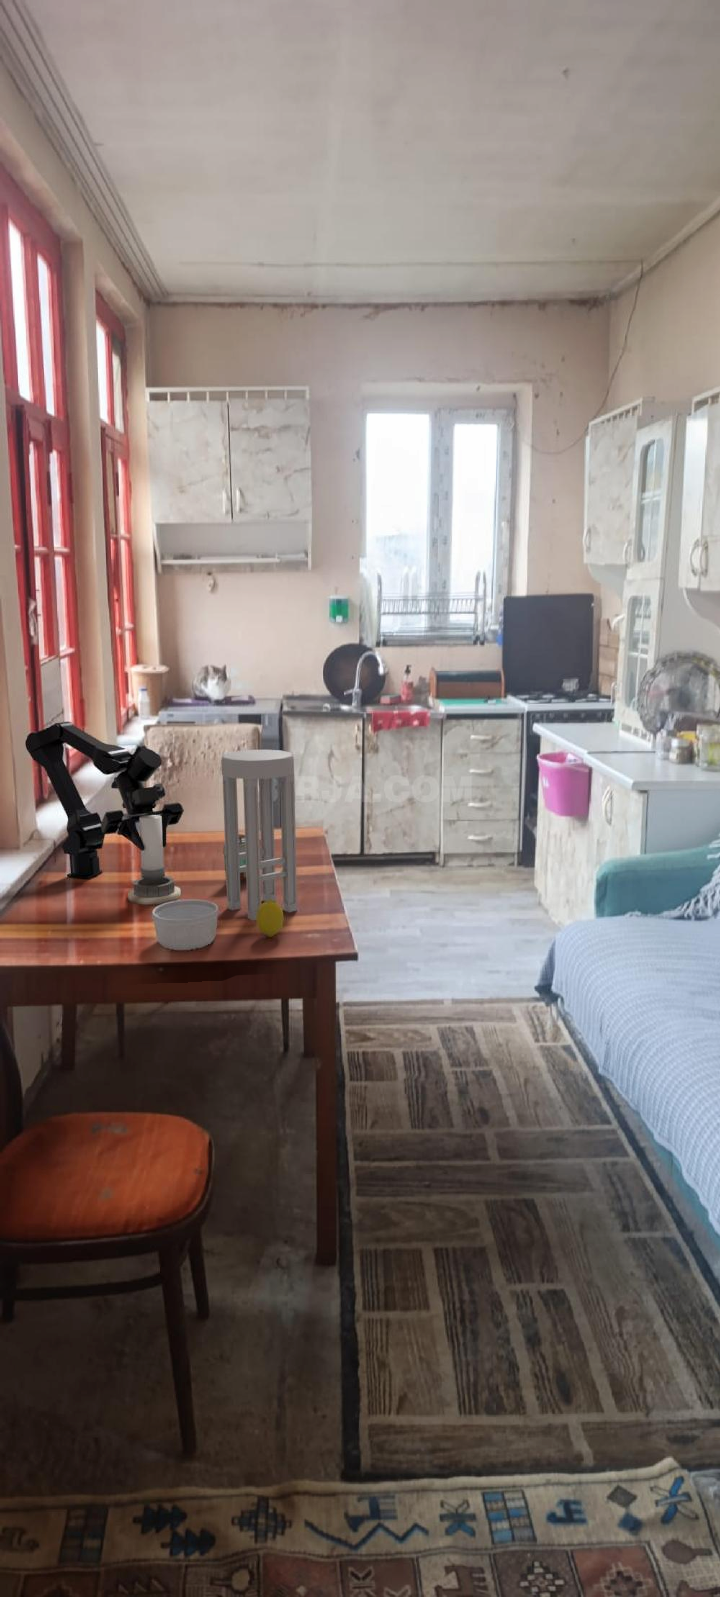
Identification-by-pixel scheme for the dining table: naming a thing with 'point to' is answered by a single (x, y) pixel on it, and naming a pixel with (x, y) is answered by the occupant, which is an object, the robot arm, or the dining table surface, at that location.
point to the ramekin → (185, 924)
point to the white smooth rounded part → (152, 847)
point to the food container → (241, 861)
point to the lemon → (269, 918)
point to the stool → (250, 770)
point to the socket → (154, 891)
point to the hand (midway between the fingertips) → (154, 848)
